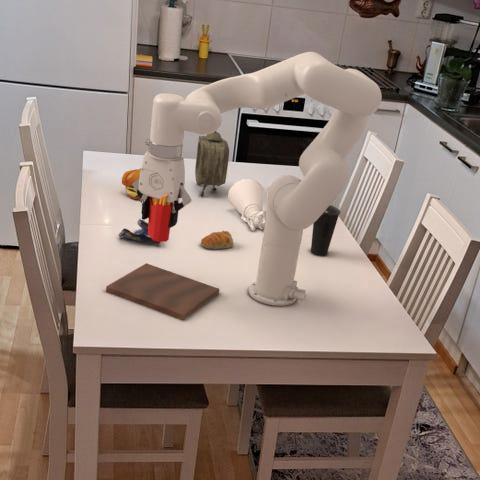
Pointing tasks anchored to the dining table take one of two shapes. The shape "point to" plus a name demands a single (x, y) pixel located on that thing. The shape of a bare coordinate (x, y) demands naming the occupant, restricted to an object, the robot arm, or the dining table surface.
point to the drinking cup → (324, 231)
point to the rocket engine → (248, 201)
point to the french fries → (159, 219)
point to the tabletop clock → (211, 161)
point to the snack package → (137, 232)
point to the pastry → (218, 240)
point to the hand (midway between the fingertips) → (158, 221)
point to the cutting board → (163, 291)
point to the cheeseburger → (129, 179)
